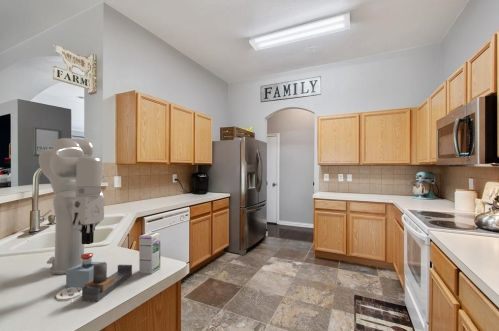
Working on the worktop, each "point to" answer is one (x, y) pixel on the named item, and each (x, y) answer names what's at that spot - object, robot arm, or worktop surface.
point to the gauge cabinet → (79, 275)
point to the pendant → (66, 295)
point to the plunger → (86, 259)
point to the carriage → (100, 277)
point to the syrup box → (149, 252)
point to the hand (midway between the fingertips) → (87, 243)
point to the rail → (119, 277)
